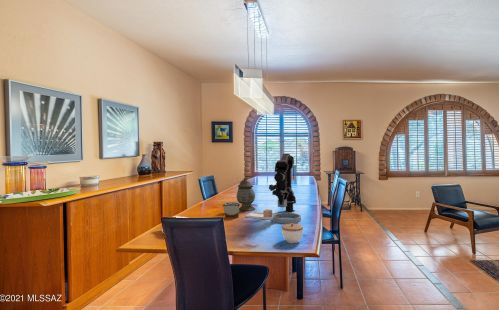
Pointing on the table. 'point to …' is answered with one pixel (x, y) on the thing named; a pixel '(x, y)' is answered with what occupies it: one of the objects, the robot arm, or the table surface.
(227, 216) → the food container
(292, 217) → the bowl
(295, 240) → the lidded jar
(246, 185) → the grey stone urn
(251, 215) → the parts tray
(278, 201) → the gray chunky prism
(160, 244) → the table surface
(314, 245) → the table surface
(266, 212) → the matte tan cube
